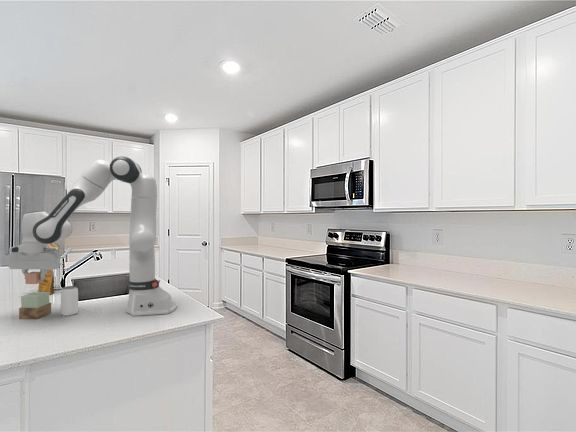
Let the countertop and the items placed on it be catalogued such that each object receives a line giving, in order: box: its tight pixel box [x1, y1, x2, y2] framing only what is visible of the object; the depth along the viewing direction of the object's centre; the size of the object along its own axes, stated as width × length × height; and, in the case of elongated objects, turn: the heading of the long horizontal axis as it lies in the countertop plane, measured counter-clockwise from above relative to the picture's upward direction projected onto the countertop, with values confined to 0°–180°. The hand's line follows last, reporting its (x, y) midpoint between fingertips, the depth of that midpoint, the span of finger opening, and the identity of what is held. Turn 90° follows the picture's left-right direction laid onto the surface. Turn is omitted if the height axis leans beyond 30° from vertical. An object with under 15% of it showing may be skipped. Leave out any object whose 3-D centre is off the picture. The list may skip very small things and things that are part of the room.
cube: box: [24, 271, 43, 285], centre depth 144 cm, size 4×4×4 cm
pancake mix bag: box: [37, 242, 60, 296], centre depth 183 cm, size 7×19×28 cm, turn 52°
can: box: [60, 285, 79, 317], centre depth 148 cm, size 6×6×12 cm
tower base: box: [18, 302, 52, 320], centre depth 145 cm, size 8×8×5 cm
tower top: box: [20, 291, 50, 308], centre depth 144 cm, size 7×7×5 cm
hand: (34, 279), depth 144 cm, fingers closed on cube, 4 cm apart
